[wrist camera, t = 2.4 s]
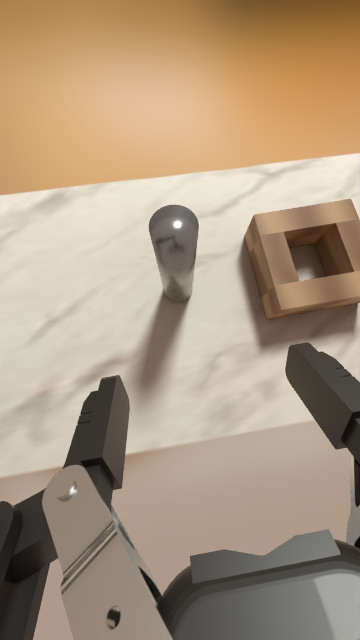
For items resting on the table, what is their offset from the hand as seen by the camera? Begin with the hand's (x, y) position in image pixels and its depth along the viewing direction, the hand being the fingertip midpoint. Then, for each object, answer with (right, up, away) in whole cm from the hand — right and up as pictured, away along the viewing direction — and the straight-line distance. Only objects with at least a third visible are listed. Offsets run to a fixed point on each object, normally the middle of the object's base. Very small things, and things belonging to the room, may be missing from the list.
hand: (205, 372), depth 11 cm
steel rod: (-1, +6, +16) cm, 18 cm away
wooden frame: (+13, +9, +17) cm, 23 cm away
